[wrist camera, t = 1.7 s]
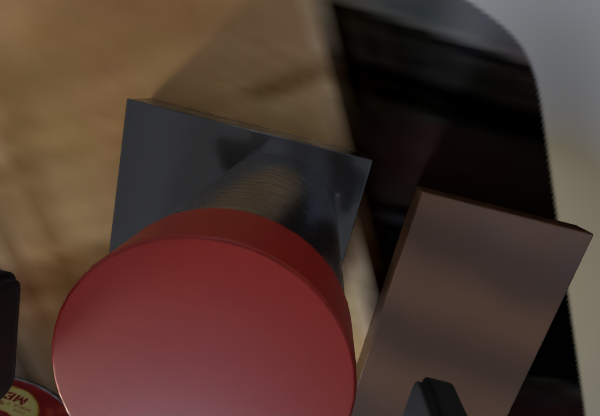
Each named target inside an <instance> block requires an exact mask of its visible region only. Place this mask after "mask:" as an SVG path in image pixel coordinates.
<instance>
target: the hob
mask: <svg viewBox="0 0 600 416" xmlns="http://www.w3.org/2000/svg"><path fill="white" fill-rule="evenodd" d="M268 154H273V155H282V156H287V157H291V158H294V159H296V160H298V161H301V162H303V163H304V164H306V165H308V166H309V167H311V168H312V169H313V170H314V171H315V172H317V173H318V174H319V176H320V177H321V178H322V179H323V180H324V181H325V183H326V184H327V186H328V187H329V189H330V191H331V193H332V196H333V199H334V201H335V206H336V211H337V222H338V232H339V243H340V253H341V263H343V259H344V256H345V253H346V249H347V246H348V242H349V239H350V236H351V232H352V229H353V225H354V222H355V219H356V215H357V212H358V209H359V205H360V202H361V198H362V195H363V192H364V188H365V185H366V181H367V178H368V175H369V171H370V168H371V165H372V159H371V158H370V157H369V155H368V154H367V153H364V152H360V151H356V150H352V149H348V148H344V147H340V146H336V145H332V144H328V143H324V142H320V141H317V140H313V139H309V138H305V137H301V136H297V135H293V134H289V133H285V132H281V131H277V130H273V129H269V128H265V127H261V126H257V125H253V124H249V123H245V122H241V121H237V120H233V119H229V118H225V117H221V116H217V115H213V114H209V113H205V112H201V111H198V110H194V109H190V108H186V107H182V106H178V105H174V104H170V103H166V102H162V101H158V100H154V99H150V98H145V99H127V105H126V114H125V122H124V131H123V139H122V148H121V156H120V165H119V173H118V182H117V190H116V199H115V208H114V216H113V225H112V233H111V242H110V250H109V253H111V252H112V251H113V250H115V249H116V248H118V247H119V246H120V245H122V244H123V243H124V242H126V241H127V240H129V239H130V238H131V237H133V236H134V235H136V234H137V233H138V232H140V231H141V230H142V229H144V228H145V227H147V226H148V225H150V224H152V223H154V222H156V221H158V220H160V219H162V218H165V217H166V216H168V215H169V214H170V213H172V212H173V211H174V210H176V209H177V208H178V207H180V206H181V205H182V204H184V203H185V202H186V201H188V200H189V199H190V198H192V197H193V196H194V195H196V194H197V193H198V192H200V191H201V190H202V189H204V188H205V187H206V186H208V185H209V184H210V183H212V182H213V181H214V180H216V179H217V178H218V177H220V176H221V175H222V174H224V173H225V172H226V171H228V170H229V169H230V168H232V167H233V166H235V165H236V164H238V163H239V162H241V161H243V160H245V159H248V158H251V157H254V156H259V155H268Z"/></svg>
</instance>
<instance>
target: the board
mask: <svg viewBox="0 0 600 416" xmlns="http://www.w3.org/2000/svg"><path fill="white" fill-rule="evenodd" d="M592 237H593V234H592V233H590V232H588V231H586V230H584V229H582V228H580V227H578V226H576V225H573V224H569V223H565V222H561V221H557V220H553V219H549V218H545V217H541V216H537V215H533V214H529V213H525V212H521V211H517V210H513V209H509V208H506V207H502V206H498V205H494V204H490V203H486V202H482V201H478V200H474V199H470V198H466V197H462V196H458V195H454V194H450V193H446V192H442V191H438V190H434V189H430V188H426V187H422V186H416V188H415V191H414V194H413V197H412V200H411V203H410V206H409V209H408V212H407V215H406V218H405V221H404V224H403V227H402V230H401V233H400V236H399V239H398V242H397V245H396V248H395V251H394V254H393V257H392V260H391V263H390V266H389V269H388V272H387V275H386V278H385V281H384V284H383V287H382V290H381V293H380V296H379V299H378V302H377V305H376V308H375V311H374V315H373V318H372V321H371V324H370V327H369V330H368V333H367V336H366V339H365V342H364V345H363V348H362V351H361V354H360V357H359V360H358V363H357V366H356V371H357V389H356V400H355V404H354V407H353V411H352V415H351V416H402V415H403V412H404V409H405V407H406V404H407V401H408V399H409V396H410V393H411V391H412V388H413V386H414V383H415V382H417V381H419V382H422V381H423V379H424V378H425V377H430V378H434V379H438V380H442V381H446V382H450V383H452V384H453V386H454V388H455V390H456V392H457V394H458V396H459V399H460V401H461V403H462V405H463V407H464V410H465V412H466V414H467V416H507V415H508V413H509V411H510V409H511V407H512V405H513V403H514V401H515V398H516V396H517V394H518V392H519V390H520V388H521V386H522V384H523V382H524V380H525V377H526V375H527V373H528V371H529V369H530V367H531V365H532V363H533V361H534V359H535V356H536V354H537V352H538V350H539V348H540V346H541V344H542V342H543V340H544V338H545V335H546V333H547V331H548V329H549V327H550V325H551V323H552V321H553V319H554V317H555V314H556V312H557V310H558V308H559V306H560V304H561V302H562V300H563V298H564V296H565V293H566V291H567V289H568V287H569V285H570V283H571V281H572V279H573V277H574V275H575V272H576V270H577V268H578V266H579V264H580V262H581V260H582V258H583V256H584V254H585V251H586V249H587V247H588V245H589V243H590V241H591V239H592Z"/></svg>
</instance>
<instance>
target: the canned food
mask: <svg viewBox="0 0 600 416" xmlns="http://www.w3.org/2000/svg"><path fill="white" fill-rule="evenodd" d="M0 416H70V415H69V414H68V412H67V410H66V408H65V406H64V404H63V402H62V400H61V399H60V398H58V397H57V396H55V395H54V394H53V393H51V392H50V391H49V390H47V389H45V388H43V387H41V386H39V385H37V384H35V383H32V382H29V381H26V380H23V379H19V378H14V382H13V385H12V386H11V388H10V390H9V391H8V393H7V394H6V395H5V396H4V397H3V398H2V399H1V400H0Z"/></svg>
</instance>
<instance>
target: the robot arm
mask: <svg viewBox="0 0 600 416" xmlns="http://www.w3.org/2000/svg"><path fill="white" fill-rule="evenodd" d="M19 303H20V283H19V282H18V281H16V278H15V276H14V274H13V273H11V272H7V271H3V270H0V400H1V399H2V398H3V397H4V396H5V395H6V394H7V393H8V391H9V390H10V388H11V386H12V385H13V382H14V378H15V364H16V349H17V334H18V318H19ZM402 416H467V414H466V412H465V410H464V407H463V405H462V403H461V401H460V399H459V396H458V394H457V392H456V390H455V388H454V386H453V384H452V383H450V382H446V381H442V380H438V379H434V378H430V377H425V378H424V379H423V381H422V382H419V381H417V382H415V383H414V386H413V388H412V391H411V393H410V396H409V399H408V401H407V404H406V407H405V409H404V412H403V415H402Z"/></svg>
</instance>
